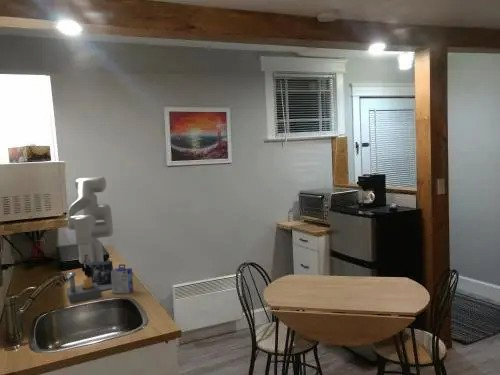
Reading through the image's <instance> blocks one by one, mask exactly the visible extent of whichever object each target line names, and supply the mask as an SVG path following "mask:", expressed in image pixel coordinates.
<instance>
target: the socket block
mask: <svg viewBox="0 0 500 375" xmlns="http://www.w3.org/2000/svg"><path fill="white" fill-rule="evenodd" d="M92 284H93V288H92V289H87V290H84V288H83V286H84V285H83V284H81V285H76V280H75V276H74V277H72V278H71V279H70V280H69V287H66V295H67V298H68V301H69V303H70V304H72V303H77V302H82V301H86V300H92V299H98V298H101V297H102V293H101V292H102V291H101V290H100V288H99V286H100V285H97V283H92Z"/></svg>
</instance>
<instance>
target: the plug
mask: <svg viewBox="0 0 500 375" xmlns="http://www.w3.org/2000/svg"><path fill="white" fill-rule="evenodd" d="M82 282H83V284H82V285H84V286H83V288H84V290H87V289H92V288H93V284H92V277H87V276H86V277H84V278H82Z"/></svg>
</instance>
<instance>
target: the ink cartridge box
mask: <svg viewBox="0 0 500 375" xmlns="http://www.w3.org/2000/svg"><path fill="white" fill-rule="evenodd" d="M111 279H112V289H111V290H112V291H111V292H112V294H130V293H132V292H134V281H133V280H134V279H133V269H132V267H131V268H130V267H129V268H127V267H126V264H124V263H123V264H122V263H121V264H120V263H119V265H118V268H113V270H112V271H111Z"/></svg>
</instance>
